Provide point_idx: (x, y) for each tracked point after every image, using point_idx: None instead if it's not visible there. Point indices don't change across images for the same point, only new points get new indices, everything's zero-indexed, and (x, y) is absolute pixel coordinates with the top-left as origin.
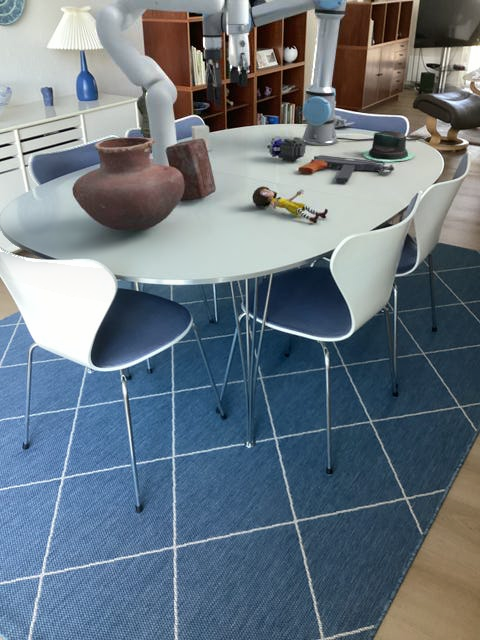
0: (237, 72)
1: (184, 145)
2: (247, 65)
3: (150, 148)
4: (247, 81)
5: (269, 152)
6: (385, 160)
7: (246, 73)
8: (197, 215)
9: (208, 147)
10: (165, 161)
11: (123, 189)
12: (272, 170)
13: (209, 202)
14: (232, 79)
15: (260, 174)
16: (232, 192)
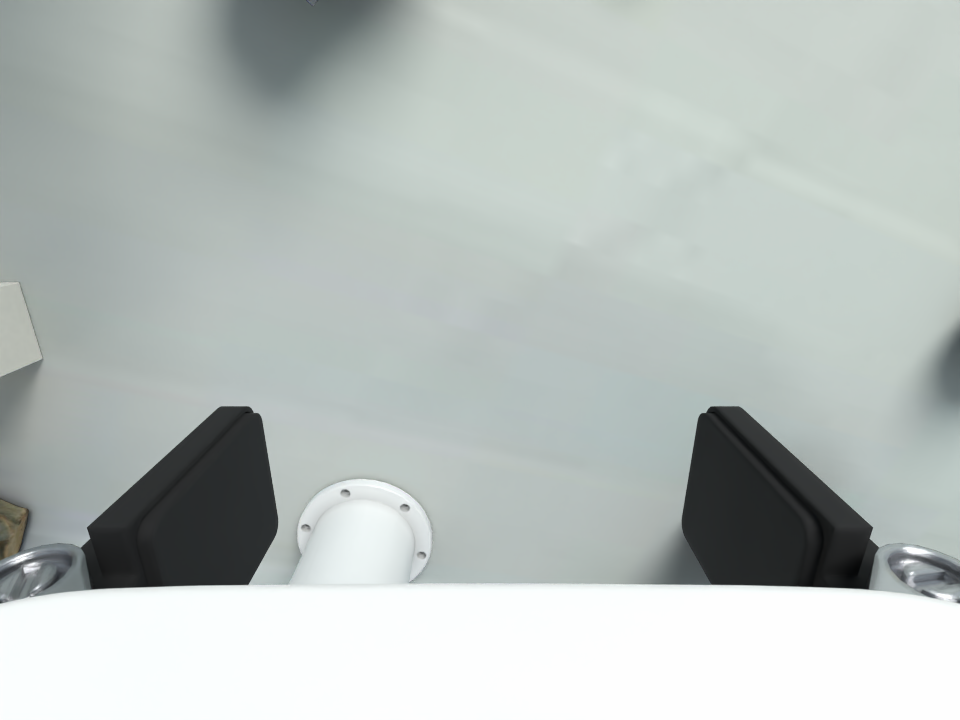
0: (175, 538)
1: None
2: (768, 611)
3: (10, 550)
4: (772, 437)
5: (313, 3)
6: None
7: (926, 572)
8: (914, 537)
9: (6, 294)
10: (409, 579)
11: None
12: (520, 78)
13: (818, 477)
14: (258, 544)
15: (565, 171)
16: (757, 374)
